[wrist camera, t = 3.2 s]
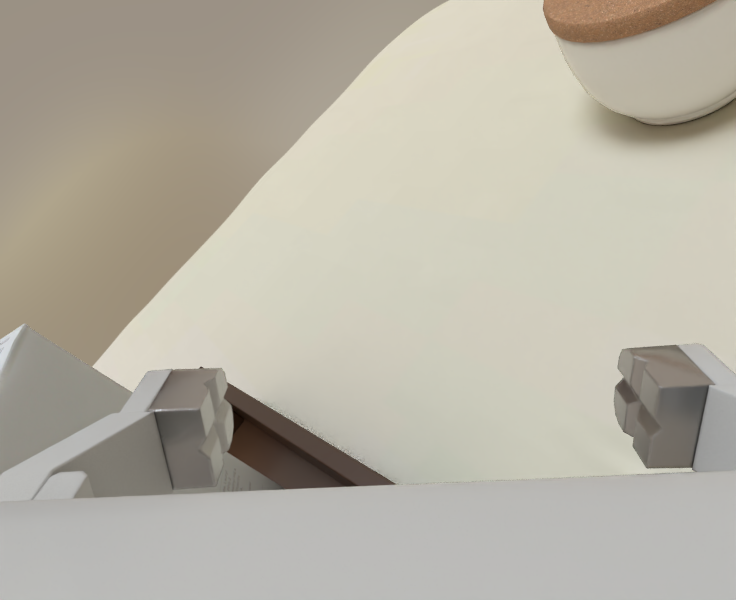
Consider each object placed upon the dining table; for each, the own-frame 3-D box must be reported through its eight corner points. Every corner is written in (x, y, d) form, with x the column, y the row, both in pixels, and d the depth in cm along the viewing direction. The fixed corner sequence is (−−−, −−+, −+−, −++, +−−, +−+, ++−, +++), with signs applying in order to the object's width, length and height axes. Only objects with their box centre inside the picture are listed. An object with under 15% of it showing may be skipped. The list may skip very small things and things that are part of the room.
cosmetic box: (314, 504, 27) (41, 305, 19) (309, 650, 23) (-53, 477, 14) (177, 553, 30) (-117, 399, 21) (148, 692, 26) (-237, 568, 17)
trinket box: (594, 67, 39) (544, -77, 33) (796, -2, 33) (776, -192, 27) (579, 176, 33) (514, 23, 27) (822, 117, 27) (803, -97, 21)
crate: (251, 407, 35) (200, 365, 33) (465, 542, 23) (410, 492, 20) (73, 639, 31) (-3, 612, 28) (217, 964, 18) (106, 970, 16)
